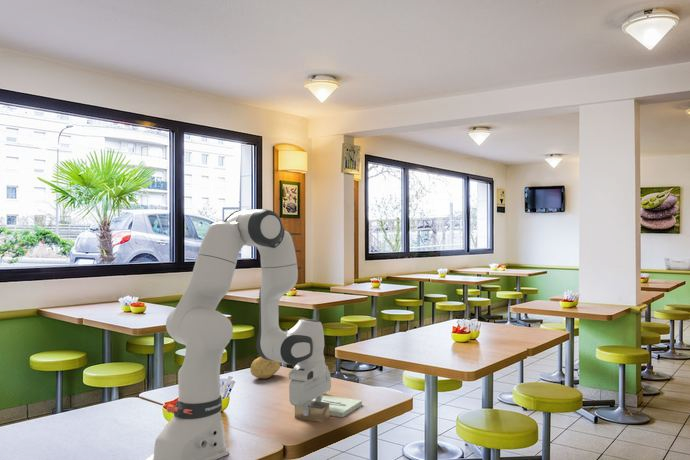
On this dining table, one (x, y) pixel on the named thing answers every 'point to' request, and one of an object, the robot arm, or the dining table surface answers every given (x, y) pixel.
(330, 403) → the board
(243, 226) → the robot arm
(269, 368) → the potato
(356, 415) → the dining table surface
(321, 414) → the block
